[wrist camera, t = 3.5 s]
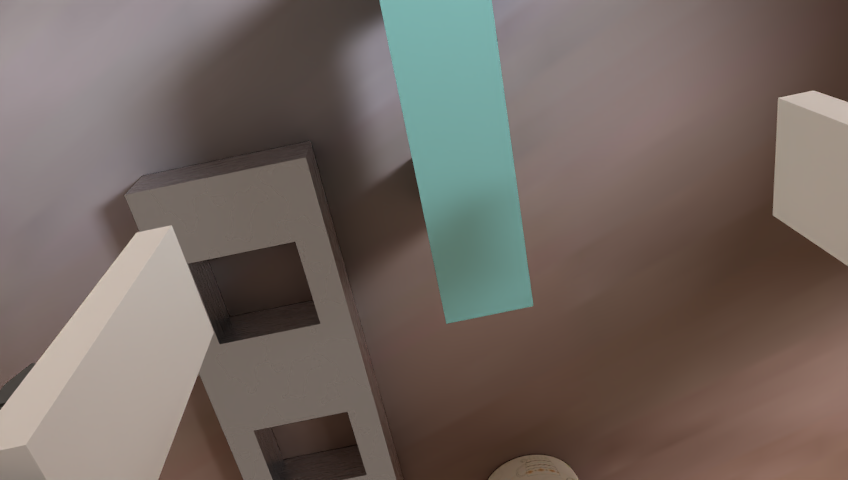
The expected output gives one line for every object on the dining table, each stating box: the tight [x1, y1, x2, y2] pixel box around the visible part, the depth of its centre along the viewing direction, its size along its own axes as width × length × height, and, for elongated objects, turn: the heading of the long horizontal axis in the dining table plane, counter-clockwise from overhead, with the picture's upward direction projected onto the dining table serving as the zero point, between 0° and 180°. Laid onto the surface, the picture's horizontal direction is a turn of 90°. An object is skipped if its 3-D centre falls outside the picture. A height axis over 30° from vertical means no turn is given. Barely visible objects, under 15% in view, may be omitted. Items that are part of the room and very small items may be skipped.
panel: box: [379, 0, 533, 324], centre depth 24 cm, size 12×3×11 cm, turn 11°
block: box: [124, 141, 404, 480], centre depth 34 cm, size 22×8×2 cm, turn 11°
